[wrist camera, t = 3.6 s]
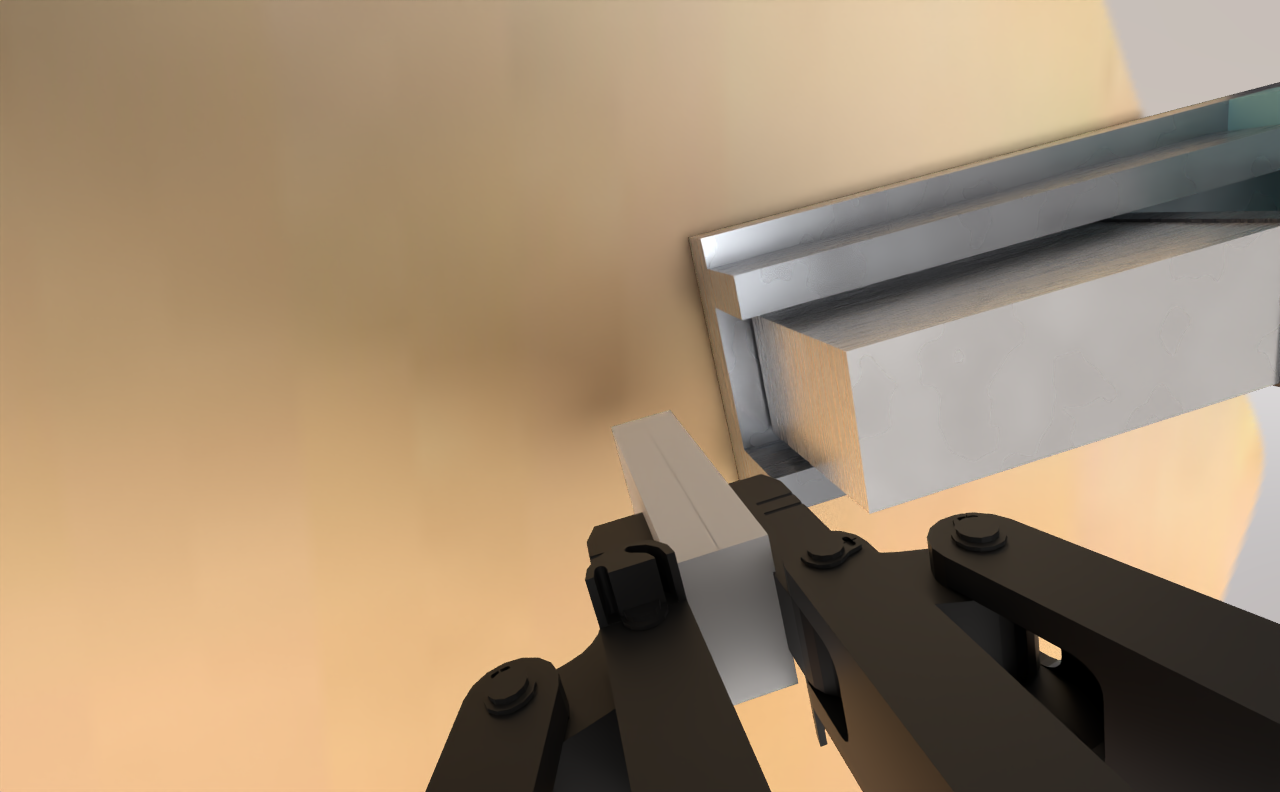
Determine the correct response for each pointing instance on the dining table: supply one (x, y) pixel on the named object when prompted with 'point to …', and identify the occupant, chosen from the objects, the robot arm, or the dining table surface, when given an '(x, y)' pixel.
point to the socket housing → (1255, 110)
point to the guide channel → (956, 238)
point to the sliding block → (1024, 350)
